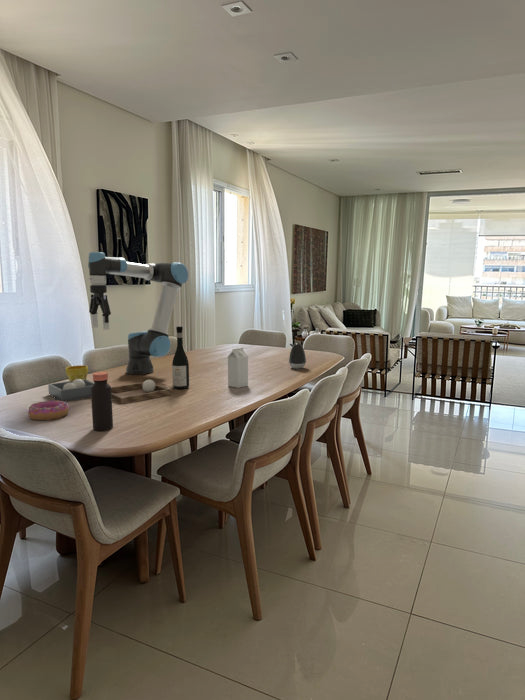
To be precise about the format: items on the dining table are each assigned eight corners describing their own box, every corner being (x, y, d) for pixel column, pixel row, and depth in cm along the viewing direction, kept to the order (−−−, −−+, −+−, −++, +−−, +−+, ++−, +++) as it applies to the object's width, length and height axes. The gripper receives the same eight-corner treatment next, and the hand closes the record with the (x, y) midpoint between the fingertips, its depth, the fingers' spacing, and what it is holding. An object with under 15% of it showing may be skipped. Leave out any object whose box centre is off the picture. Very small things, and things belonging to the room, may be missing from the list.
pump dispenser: (294, 365, 289) (294, 341, 287) (309, 367, 283) (309, 342, 281) (285, 368, 281) (285, 343, 279) (300, 370, 275) (300, 344, 273)
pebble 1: (80, 384, 214) (73, 382, 208) (78, 397, 213) (70, 395, 207) (68, 383, 215) (61, 380, 209) (66, 396, 214) (58, 394, 208)
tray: (147, 386, 234) (147, 381, 233) (170, 394, 217) (169, 389, 217) (100, 394, 218) (100, 389, 218) (121, 403, 202) (121, 398, 202)
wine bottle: (185, 389, 227) (184, 327, 223) (170, 389, 229) (168, 327, 224) (191, 386, 235) (190, 326, 231) (176, 385, 237) (174, 325, 232)
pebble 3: (151, 390, 227) (151, 377, 226) (158, 392, 222) (157, 379, 221) (140, 392, 223) (139, 379, 222) (146, 394, 218) (145, 381, 217)
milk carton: (228, 386, 235) (227, 348, 232) (238, 383, 240) (237, 346, 237) (237, 388, 230) (237, 349, 227) (248, 385, 235) (248, 348, 232)
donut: (72, 418, 182) (71, 405, 181) (31, 424, 174) (30, 410, 174) (65, 409, 194) (64, 397, 193) (26, 414, 186) (25, 402, 186)
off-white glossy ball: (84, 391, 223) (80, 379, 223) (89, 388, 218) (84, 375, 219) (72, 394, 219) (68, 382, 219) (76, 391, 214) (72, 379, 215)
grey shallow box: (85, 389, 229) (85, 379, 228) (99, 395, 216) (99, 384, 215) (48, 394, 218) (48, 384, 217) (61, 401, 205) (60, 390, 204)
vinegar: (96, 425, 172) (93, 371, 169) (115, 425, 172) (112, 371, 169) (90, 431, 165) (87, 375, 162) (110, 431, 165) (107, 375, 162)
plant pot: (62, 387, 232) (60, 367, 231) (79, 383, 241) (77, 364, 240) (77, 389, 228) (75, 369, 226) (93, 385, 237) (92, 366, 235)
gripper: (80, 284, 235) (83, 327, 238) (101, 285, 217) (103, 331, 220) (95, 284, 240) (97, 326, 243) (116, 284, 222) (118, 329, 225)
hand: (100, 328), depth 232 cm, fingers open, 13 cm apart
